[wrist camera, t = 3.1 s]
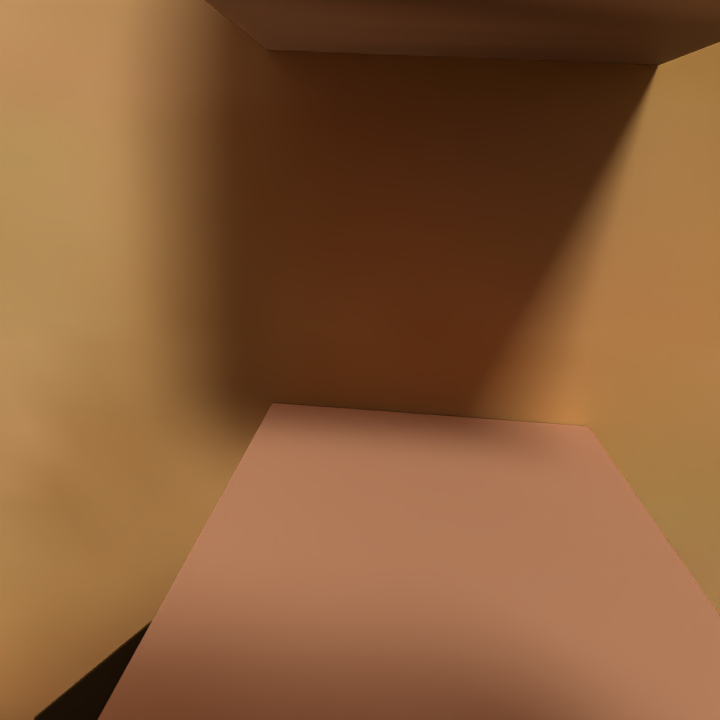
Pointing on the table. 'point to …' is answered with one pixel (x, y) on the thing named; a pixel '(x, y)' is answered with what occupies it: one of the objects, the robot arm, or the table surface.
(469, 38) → the walnut block
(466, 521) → the terracotta block
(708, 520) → the table surface
